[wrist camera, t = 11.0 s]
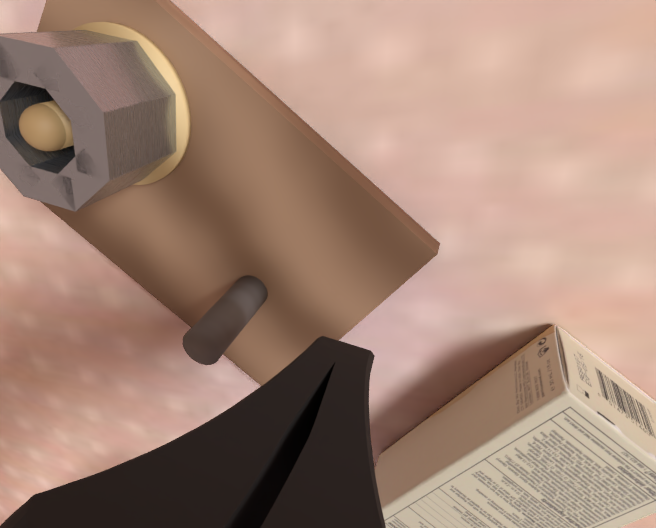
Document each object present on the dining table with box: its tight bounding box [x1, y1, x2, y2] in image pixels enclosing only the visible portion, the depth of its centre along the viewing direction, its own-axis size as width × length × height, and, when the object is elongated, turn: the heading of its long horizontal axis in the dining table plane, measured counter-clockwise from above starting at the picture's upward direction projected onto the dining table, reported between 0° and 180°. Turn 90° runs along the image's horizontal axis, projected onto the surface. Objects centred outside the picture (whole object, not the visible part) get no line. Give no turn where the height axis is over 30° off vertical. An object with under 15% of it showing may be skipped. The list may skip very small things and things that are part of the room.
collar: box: [0, 30, 176, 212], centre depth 18 cm, size 6×6×4 cm
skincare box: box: [375, 325, 656, 528], centre depth 21 cm, size 6×4×12 cm
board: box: [19, 0, 440, 386], centre depth 19 cm, size 12×18×6 cm, turn 52°
